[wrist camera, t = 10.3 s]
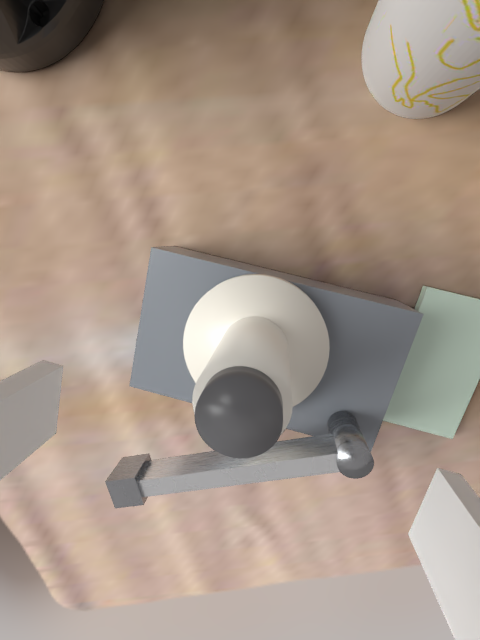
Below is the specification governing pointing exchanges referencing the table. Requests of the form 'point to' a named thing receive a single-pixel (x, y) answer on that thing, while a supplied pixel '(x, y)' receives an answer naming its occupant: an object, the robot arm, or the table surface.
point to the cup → (422, 55)
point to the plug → (252, 361)
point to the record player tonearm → (244, 465)
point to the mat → (439, 365)
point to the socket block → (340, 319)
